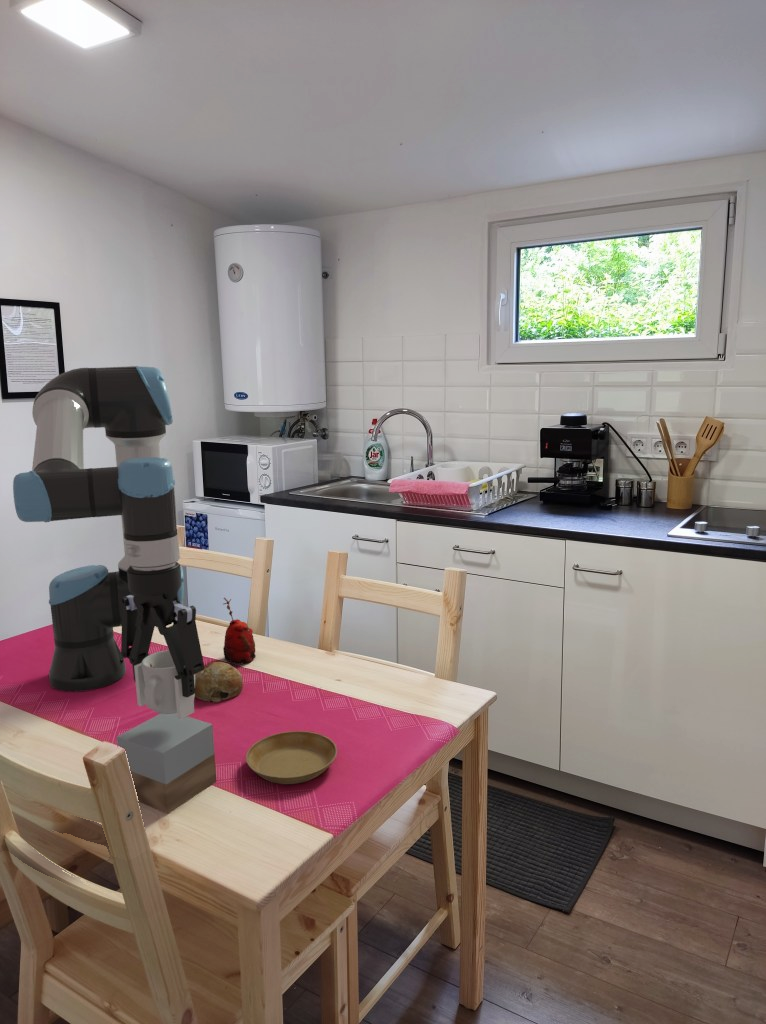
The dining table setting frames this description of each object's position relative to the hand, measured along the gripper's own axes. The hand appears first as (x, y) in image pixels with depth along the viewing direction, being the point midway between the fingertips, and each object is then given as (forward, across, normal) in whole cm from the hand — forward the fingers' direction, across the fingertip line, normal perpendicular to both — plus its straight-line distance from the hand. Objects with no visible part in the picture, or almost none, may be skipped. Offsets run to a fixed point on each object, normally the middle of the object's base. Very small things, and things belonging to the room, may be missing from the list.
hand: (165, 708), depth 113 cm
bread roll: (+14, -19, +29) cm, 37 cm away
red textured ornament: (+13, -26, +44) cm, 53 cm away
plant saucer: (+14, +12, +14) cm, 23 cm away
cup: (+1, 0, 0) cm, 1 cm away
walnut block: (+14, 0, 0) cm, 14 cm away
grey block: (+9, 0, 0) cm, 9 cm away
